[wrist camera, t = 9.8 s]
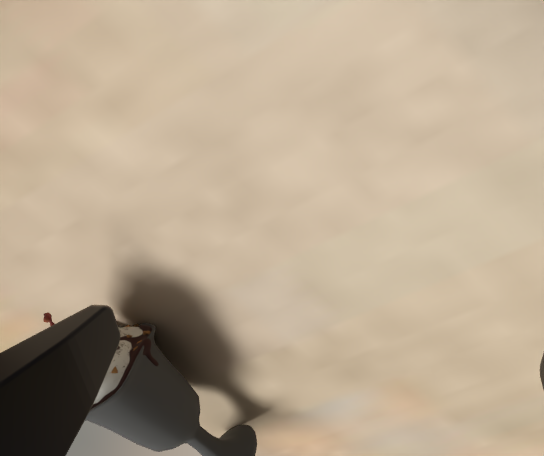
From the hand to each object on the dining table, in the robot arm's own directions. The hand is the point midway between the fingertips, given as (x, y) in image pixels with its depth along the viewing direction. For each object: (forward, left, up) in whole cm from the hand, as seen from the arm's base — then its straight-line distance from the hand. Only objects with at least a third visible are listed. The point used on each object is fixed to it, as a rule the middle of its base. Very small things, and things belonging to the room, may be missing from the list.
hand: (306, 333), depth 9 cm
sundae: (+8, +20, -9) cm, 23 cm away
